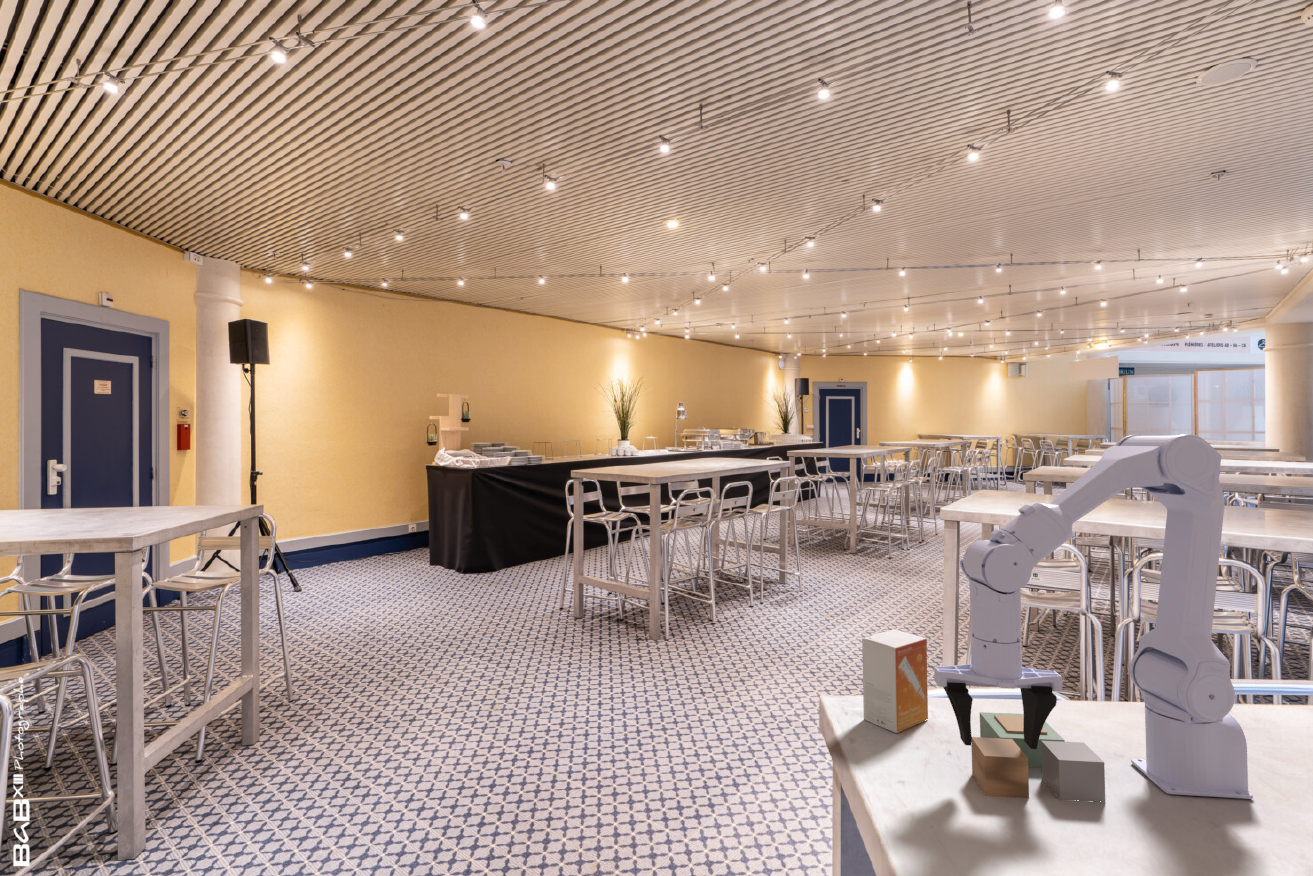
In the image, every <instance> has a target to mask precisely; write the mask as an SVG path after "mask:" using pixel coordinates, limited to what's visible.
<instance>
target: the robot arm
mask: <svg viewBox="0 0 1313 876" xmlns="http://www.w3.org/2000/svg"><path fill="white" fill-rule="evenodd" d="M1221 462H1222V455H1221V453H1220V452H1218V451H1217V450H1216V449H1215V448H1214V447H1213V446H1212V445H1211V444H1210V443H1209V442H1207V441H1206V439H1204V438H1202V437H1201V436H1198V435H1196V434H1189V433H1188V434H1186V433H1185V434H1179V435H1141V434H1131V435H1126V436H1124V437H1122V438H1121V439H1120V440H1118V441H1117V442H1116V443H1115V444H1114V445H1112V446H1110V447H1108V448H1106V449H1104V452H1103V453H1102V456H1101V458H1100V459H1099V460H1098V461H1097V462H1096V463H1095V464H1094V465H1093V466H1091V467H1090V468H1089V469H1088V470H1087V471H1086V472H1084V473H1083V474H1082V475H1081V476H1080V477H1079V478H1078V479H1076V480H1075V481H1074V482H1073V483H1072V484H1071V485H1070V486H1069V487H1067V488H1066V489H1065V490H1064V491H1062V493H1060V494H1059V495H1058V496H1057V497H1055V499H1054V500H1053V501H1051V502H1050V503H1043V502H1035V503H1032V504H1024V505H1022V507H1020V508H1019V509H1018V512H1019V514H1018V515H1017V516H1016V517H1015V518H1013V519H1012V520H1011V521H1009V522H1008V523H1007V524H1005V525H1004V526H1003V527H1002V528H1000V529H994V530H993V531H992V532H990V534H989V535H990V538H989V539H983V540H981V539H980V540H977V541H974V542H973V543H971V544H970V545H969V546H968V547H967V548H966V550H965V552H964V554H963V557H962V558H963V559H960V560H959V566H960V570H961V571H962V573H963V575H964V576H965V577H966V578H967V580H968V582H969V612H970V615H969V616H970V618H969V620H970V657H971V658H970V661H971V663H967V664H958V665H957V664H956V665H955V664H954V665H947V666H946V665H944V666H943V665H942V666H940V665H939V666H935V665H934V669H933V670H934V673H933V674H934V682H935V683H936V685H937V686H938V687H939V688H940V687H942V688H943V689H944V691H945V694H946V695H947V698H948V700H949V702H950V704H951V707H952V710H953V713H954V716H955V719H956V722H957V726H958V731H959V735H960V736H959V737H960V740H961V741H962V742H963V744H964V745H965V746H971V747H972V743H971V741H972V737H973V736H972V725H971V724H972V722H971V717H972V705H973V700H974V699H973V697H972V696H971V695H970V694H969V689H968V688H967V687H968V686H969V687H991V688H992V687H993V688H1001V689H1011V690H1012V689H1018V688H1020V694H1021V703H1022V711H1023V714H1024V729H1023V733H1024V741H1025V743H1026V744H1027V745H1028V746H1029V747H1030V748H1031V749H1037V745H1038V740H1039V737H1040V734H1041V730H1042V728H1043V725H1044V723H1045V722H1046V720H1047V719H1048V718H1049V716H1050V713H1051V712H1052V711H1053V709H1054V708H1055V707H1056V706H1057V701H1058V699H1057V696H1056V694H1055V693H1053V692H1057V693H1058V692H1063V676H1062V675H1061V674H1059V673H1058V672H1057V671H1056V670H1049V669H1048V670H1046V669H1040V668H1030V667H1025V666H1024V667H1023V651H1022V649H1023V648H1022V645H1023V644H1022V642H1023V641H1022V609H1021V608H1022V607H1021V606H1022V600H1021V599H1022V597H1021V589H1022V588H1024V587H1026V586H1027V585H1028V583H1029V581H1030V580H1031V576H1032V572H1033V569H1034V568H1035V567H1037V565H1038V564H1039V563H1040V562H1042V561H1043V560H1044V559H1046V557H1048V556H1049V555H1050V554H1052V553H1054V551H1056V550H1057V549H1058V548H1061V546H1062V545H1064V544H1065V543H1066V542H1067V541H1069V540H1070V539H1071V538H1072V535H1073V524H1074V523H1076V522H1077V521H1079V520H1080V519H1082V518H1083V517H1084V516H1086V515H1088V514H1089V513H1091V512H1093V510H1095V509H1096V508H1098V507H1100V506H1101V505H1102V504H1104V503H1105V502H1107V501H1108V500H1110V499H1111V498H1113V497H1114V496H1116V495H1117V494H1119V493H1120V492H1121V491H1123V490H1125V489H1131V488H1140V489H1143V490H1144V491H1146V492H1148V493H1150V495H1152V496H1153V497H1154V498H1155V499H1156V500H1157V501H1158V502H1159V503H1160V504H1162V506H1163V507H1164V508H1165V509H1166V520H1165V530H1164V538H1163V539H1164V540H1163V550H1162V559H1161V560H1162V561H1161V570H1160V571H1161V572H1160V577H1159V578H1160V579H1159V589H1158V598H1157V599H1158V600H1157V608H1156V610H1157V611H1156V619H1155V626H1154V628H1152V629H1151V630H1150V631H1147V632H1146V633H1144V634H1143V635H1141V636H1140V637H1139V643H1138V648H1137V650H1136V653H1134V656H1133V657H1132V659H1131V661H1130V664H1129V675H1130V679H1131V681H1132V683H1133V684H1134V686H1135V687H1136V688H1138V690H1140V695H1141V696H1140V699H1141V700H1143V701H1144V714H1145V715H1144V716H1145V717H1144V719H1145V721H1144V722H1145V725H1144V727H1145V754H1146V755H1145V759H1144V758H1131V759H1130V763H1131V764H1132V765H1134V766H1135V767H1136V768H1137V769H1138V770H1139V771H1140V772H1142V774H1144V775H1145V776H1146V777H1147V778H1148V779H1149V780H1150V781H1152V782H1153V783H1154V784H1155V785H1156V786H1157V787H1158V788H1159V789H1160V790H1162V791H1163V792H1164V793H1166V794H1168V795H1182V796H1193V797H1194V796H1196V797H1197V796H1198V797H1211V798H1212V797H1213V798H1214V797H1215V798H1226V799H1227V798H1228V799H1229V798H1231V799H1244V800H1245V799H1246V800H1247V799H1249V800H1251V799H1254V794H1253V793H1252V792H1250V791H1249V777H1248V776H1249V774H1248V771H1249V770H1248V744H1247V743H1248V742H1247V739H1246V736H1245V732H1244V730H1243V728H1242V726H1241V724H1240V723H1239V722H1238V721H1237V719H1236V718H1234V717H1233V715H1231V714H1230V712H1231V710H1233V707H1234V704H1235V702H1236V701H1235V700H1236V692H1235V688H1234V687H1235V686H1234V685H1233V682H1232V681H1231V676H1230V674H1231V673H1230V670H1231V663H1230V661H1229V660H1228V658H1227V657H1226V656H1225V655H1224V654H1223V653H1222V651H1221V650H1220V649H1219V648H1218V647H1217V645H1216V644H1215V643H1214V641H1213V640H1212V633H1213V624H1214V623H1213V622H1214V612H1215V611H1214V610H1215V605H1216V604H1215V602H1216V593H1217V591H1216V590H1217V581H1218V571H1219V561H1220V551H1221V543H1222V542H1221V541H1222V533H1223V532H1222V531H1223V526H1224V525H1223V523H1224V514H1225V495H1224V492H1223V488H1222V485H1221V482H1220V473H1221V471H1220V470H1221Z"/></svg>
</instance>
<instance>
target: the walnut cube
mask: <svg viewBox="0 0 1313 876" xmlns="http://www.w3.org/2000/svg"><path fill="white" fill-rule="evenodd" d="M971 775H972V776H973V778H974V779H975V781H976V782H977V784H978V786H979V788H980V789H981V791H982V793H983V795H984V796H986V797H1002V798H1005V797H1006V798H1017V799H1030V784H1029V779H1030V778H1029V776H1030V775H1029V767H1028V758H1027V756H1026V755H1025V754H1024V753H1023V751H1022V750H1021V749H1020V748H1019V747H1018V745H1017V744H1016V743H1015V742H1014V741H1013V739H1000V738H980V736H979V737H976V736H975V737H974V736H972V741H971Z"/></svg>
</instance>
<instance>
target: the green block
mask: <svg viewBox="0 0 1313 876" xmlns="http://www.w3.org/2000/svg"><path fill="white" fill-rule="evenodd" d="M1023 729H1024V713H1007V712H1002V713H1001V712H984V711H983V712H979V732H980V733H979V734H980V735H979V737H980V738H1000V739H1013V741H1014V742H1015V743H1016V744H1017V745H1018V747H1019V748H1020V749H1021V750H1022V751H1023V753H1024V754H1025V755H1026V756H1027V758H1028V768H1029V767H1031V768H1042V747H1041V741H1061V742H1066V739H1064V738H1063V737H1062V736H1061V735H1060V734H1059V733H1058V732H1057V731H1056V730H1055V729H1054V728H1053V727H1051V725H1050V724H1049V723H1048V722H1046V721H1045V723H1044V725H1043V728H1042V730H1041V734H1040V737H1039V740H1038V745H1037V749H1031V748H1030V747H1029V746H1028V745H1027V744H1026V743H1025V741H1024V733H1023Z"/></svg>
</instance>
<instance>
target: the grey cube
mask: <svg viewBox="0 0 1313 876" xmlns="http://www.w3.org/2000/svg"><path fill="white" fill-rule="evenodd" d="M1041 747H1042V767H1041V771H1042V772H1041V774H1042V775H1041V776H1042V778H1041V779H1042V780H1043V782H1044V783H1045V784H1046V785H1047V786H1048V787H1049V789H1050V790H1051V791H1052V793H1054V795H1055V796H1056V797H1057V799H1058V800H1059V801H1063V800H1076V801H1075V802H1079V801H1093V802H1092V803H1095V802H1100V801H1101V802H1105V803H1106V781H1105V780H1106V779H1105V778H1106V777H1105V774H1106V773H1105V771H1106V770H1105V761H1104V760H1102V759H1101V758H1100V757H1099V756H1098V755H1097V754H1096V753H1095V752H1094V751H1093V750H1092V749H1091V747H1089V746H1088V745H1087V744H1086V743H1084V742H1083V741H1082V742H1080V741H1079V742H1076V741H1075V742H1074V741H1065V742H1061V741H1041ZM1077 800H1079V801H1077Z"/></svg>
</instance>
